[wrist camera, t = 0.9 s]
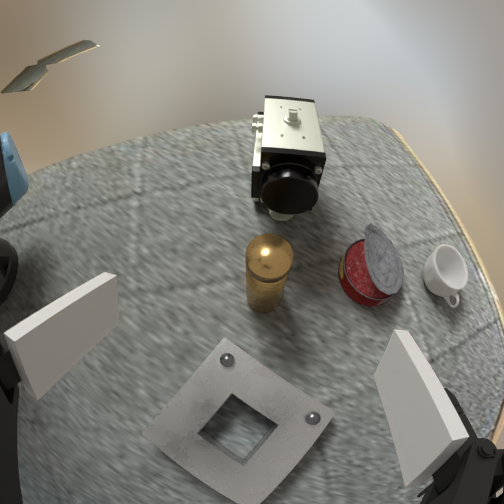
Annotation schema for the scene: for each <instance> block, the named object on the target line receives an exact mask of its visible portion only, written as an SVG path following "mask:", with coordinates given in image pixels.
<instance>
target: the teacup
mask: <svg viewBox="0 0 504 504" xmlns="http://www.w3.org/2000/svg"><path fill="white" fill-rule="evenodd" d="M423 278H424V282H425V284H426V286H427V288H428V289H429V290H430V291H431V292H432V293H433V294H435V295H438V296H442V297H443V298H444V299H445V300H446V302H447V303H448V305H449V306H450V307H451V308H456V307H457V306H458V305H459V295H458V293H457V292H458V291H459V290H460V289H462V288H463V287H464V286H465V285H466V283H467V280H468V269H467V265H466V263H465V260H464V259H463V257H462V255H461V254H460V253H459V252H458V251H457V250H456V249H455V248H454V247H452V246H450V245H448V244H442V245H440V246H438V247H437V248H436V249H435V250H434V251H433V253H432V254H431V255H430V256H429V258H428V259H427V261H426V263H425V265H424V269H423ZM450 295H451V296H454V297H455V298H456V304H455V305H452V304H451V302H450V298H449V297H450Z"/></svg>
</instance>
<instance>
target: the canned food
mask: <svg viewBox="0 0 504 504" xmlns="http://www.w3.org/2000/svg"><path fill="white" fill-rule="evenodd" d="M338 275H339V281H340V283H341V286H342V288H343V289H344V291H345V292H346V294H347V295H348V296H349V297H350V298H351V299H353V300H354V301H355V302H357V303H359V304H362V305H365V306H378V305H381V304H383V303H385V302H386V301H388V300H389V299H390V298H391V297H392V296H394V295H395V294H396V293H397V292H398V291H399V290H400V288H401V286H402V283H403V278H404V271H403V266H402V262H401V260H400V257H399V254H398V251H397V250H396V249H395V247H394V246H393V244H392V242H391V240H390V239H388V238H387V236H386V235H385V234H384V233H383V232H382V231H381V230H379V229H378V228H377V227H376V226H374V225H372V224H369V225H367V227H366V228H365V238H364V239H360V240H357V241H355V242H354V243H352V244H351V245H350V246H349V248H348V249H347V251H346V253H345V254H344V256H343V258H342V259H341V261H340V264H339V268H338Z"/></svg>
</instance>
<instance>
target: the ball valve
mask: <svg viewBox="0 0 504 504" xmlns="http://www.w3.org/2000/svg"><path fill="white" fill-rule="evenodd" d="M256 124H257V126H256ZM252 132H253V133H256V136H255V145H254V155H253V165H252V186H251V197H252V198H253V201H258V206H262V207H267V209H268V210H269V214H270V215H271V217H272V218H273V219H274V220H277V221H288V220H290V219H291V218H292V217H293V216H294V215H295V214H299V213H303V212H305V211H308V210H312V207H313V206H314V205H315V204H316V202H317V200H318V187H319V183H320V180H321V176H322V173H323V169H324V165H325V162H326V154H325V149H324V144H323V138H322V133H321V129H320V124H319V119H318V115H317V110H316V106H315V101H314V100H310V99H301V98H292V97H281V96H265V104H264V112H258V117H257V115H254V116H253V124H252Z"/></svg>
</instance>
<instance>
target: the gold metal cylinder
mask: <svg viewBox="0 0 504 504" xmlns="http://www.w3.org/2000/svg"><path fill="white" fill-rule="evenodd" d="M292 261H293V250H292V247H291V245H290V244H289V243H288V242H287V241H286V240H285V239H284V238H282V237H281V236H278V235H275V234H263V235H259V236H257V237H255V238H254V239H253V240H252V241H251V242H250V243H249V244H248V246H247V249H246V294H247V302H248V304H249V306H250V307H251V308H252V309H253V310H255V311H257V312H261V313H267V312H270V311H272V310H274V309H275V308H276V307H277V306H278V304H279V302H280V299H281V296H282V293H283V290H284V286H285V283H286V280H287V277H288V274H289V271H290V268H291V265H292Z"/></svg>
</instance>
